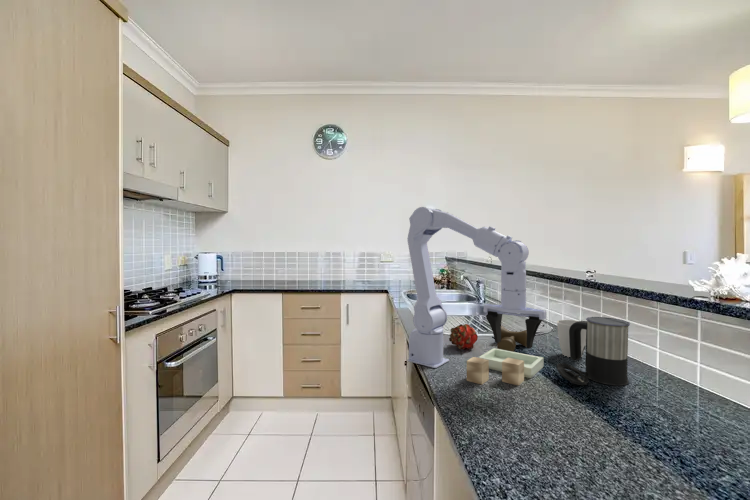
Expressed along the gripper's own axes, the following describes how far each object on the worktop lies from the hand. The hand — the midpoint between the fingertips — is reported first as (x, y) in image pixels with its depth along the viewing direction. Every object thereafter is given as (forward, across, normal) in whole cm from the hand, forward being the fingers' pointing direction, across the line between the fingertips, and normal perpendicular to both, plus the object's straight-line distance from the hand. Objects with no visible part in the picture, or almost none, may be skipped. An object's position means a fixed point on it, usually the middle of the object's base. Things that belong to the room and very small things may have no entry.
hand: (513, 344), depth 87 cm
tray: (+9, +4, -10) cm, 14 cm away
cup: (+9, -7, -31) cm, 33 cm away
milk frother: (+9, -15, -13) cm, 22 cm away
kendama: (+10, +10, -28) cm, 32 cm away
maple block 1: (+9, +7, +5) cm, 13 cm away
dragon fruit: (+9, +22, -18) cm, 30 cm away
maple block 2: (+9, 0, 0) cm, 9 cm away
